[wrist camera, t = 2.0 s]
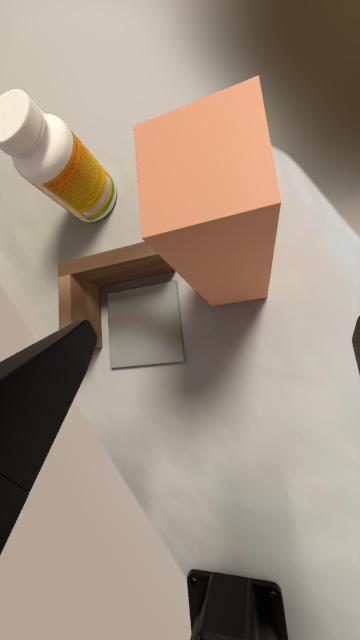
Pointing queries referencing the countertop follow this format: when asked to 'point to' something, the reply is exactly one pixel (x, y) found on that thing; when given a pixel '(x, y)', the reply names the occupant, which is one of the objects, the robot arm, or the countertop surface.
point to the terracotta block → (211, 193)
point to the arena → (125, 304)
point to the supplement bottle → (54, 158)
